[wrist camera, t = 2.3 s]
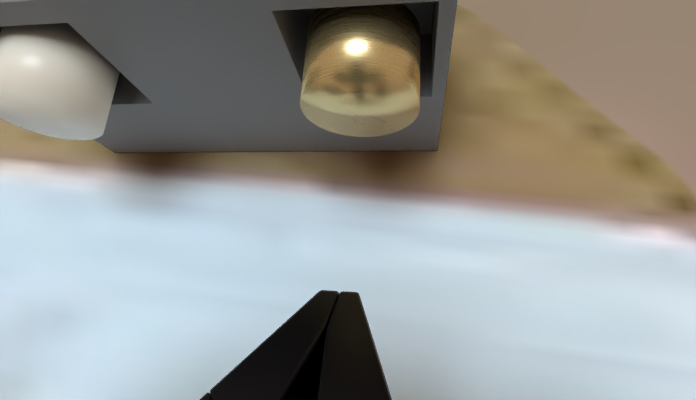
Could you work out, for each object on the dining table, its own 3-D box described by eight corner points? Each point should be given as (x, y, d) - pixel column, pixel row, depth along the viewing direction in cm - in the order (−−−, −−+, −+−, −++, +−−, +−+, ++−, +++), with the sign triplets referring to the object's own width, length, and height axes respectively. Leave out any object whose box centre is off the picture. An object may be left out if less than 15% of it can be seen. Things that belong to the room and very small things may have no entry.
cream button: (125, 139, 18) (49, 84, 14) (41, 140, 18) (-55, 87, 15) (141, 77, 19) (73, 10, 15) (59, 80, 19) (-26, 16, 16)
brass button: (418, 136, 16) (421, 71, 12) (314, 137, 16) (285, 76, 13) (419, 67, 17) (421, -12, 13) (320, 71, 17) (295, -4, 14)
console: (437, 150, 22) (464, -52, 11) (114, 152, 24) (-131, -7, 13) (436, 50, 23) (458, -209, 12) (137, 63, 26) (-62, -142, 15)
